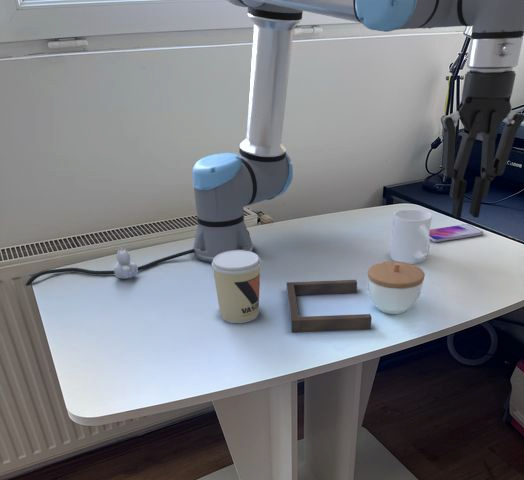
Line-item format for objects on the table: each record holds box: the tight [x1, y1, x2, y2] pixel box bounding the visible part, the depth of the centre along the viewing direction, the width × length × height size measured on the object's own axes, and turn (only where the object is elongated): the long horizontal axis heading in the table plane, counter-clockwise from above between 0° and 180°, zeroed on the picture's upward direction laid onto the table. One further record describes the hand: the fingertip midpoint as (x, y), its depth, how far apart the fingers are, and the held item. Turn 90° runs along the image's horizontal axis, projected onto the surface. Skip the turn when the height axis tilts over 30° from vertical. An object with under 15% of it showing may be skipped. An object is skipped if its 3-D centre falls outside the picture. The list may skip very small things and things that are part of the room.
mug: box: [389, 208, 433, 265], centre depth 120 cm, size 9×12×11 cm
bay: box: [285, 279, 372, 333], centre depth 103 cm, size 15×17×2 cm
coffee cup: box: [211, 250, 262, 324], centre depth 100 cm, size 9×9×12 cm
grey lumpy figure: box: [113, 245, 139, 280], centre depth 118 cm, size 5×7×8 cm
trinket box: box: [367, 260, 425, 315], centre depth 101 cm, size 11×11×9 cm
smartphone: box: [429, 223, 484, 243], centre depth 136 cm, size 7×1×15 cm
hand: (464, 215), depth 93 cm, fingers open, 3 cm apart
